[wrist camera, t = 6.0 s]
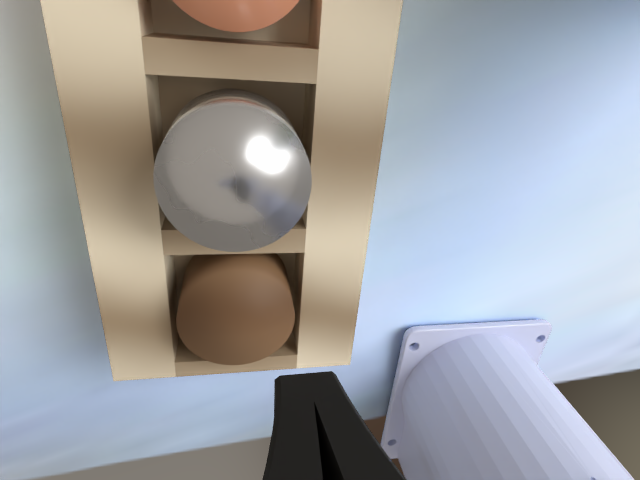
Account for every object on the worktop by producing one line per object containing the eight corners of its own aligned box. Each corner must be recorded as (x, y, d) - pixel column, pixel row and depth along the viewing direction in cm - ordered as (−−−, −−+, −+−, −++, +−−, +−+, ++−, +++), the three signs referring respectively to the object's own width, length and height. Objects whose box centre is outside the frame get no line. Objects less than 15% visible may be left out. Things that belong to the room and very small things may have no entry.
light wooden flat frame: (334, 318, 20) (349, 364, 18) (130, 328, 19) (113, 380, 16) (390, -155, 12) (431, -197, 10) (45, -213, 11) (-16, -283, 8)
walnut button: (285, 320, 18) (292, 361, 16) (186, 325, 18) (180, 369, 15) (289, 237, 16) (297, 270, 14) (179, 238, 16) (171, 273, 14)
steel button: (296, 215, 15) (306, 250, 12) (171, 216, 14) (160, 253, 12) (303, 91, 13) (317, 108, 11) (160, 84, 12) (145, 101, 10)
